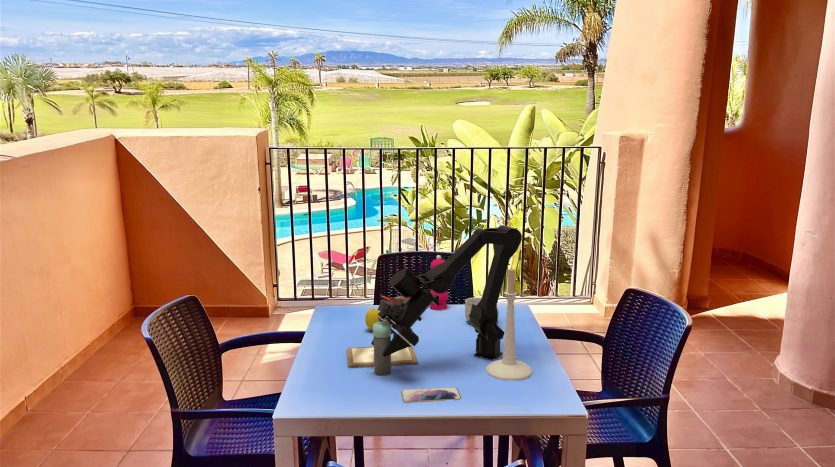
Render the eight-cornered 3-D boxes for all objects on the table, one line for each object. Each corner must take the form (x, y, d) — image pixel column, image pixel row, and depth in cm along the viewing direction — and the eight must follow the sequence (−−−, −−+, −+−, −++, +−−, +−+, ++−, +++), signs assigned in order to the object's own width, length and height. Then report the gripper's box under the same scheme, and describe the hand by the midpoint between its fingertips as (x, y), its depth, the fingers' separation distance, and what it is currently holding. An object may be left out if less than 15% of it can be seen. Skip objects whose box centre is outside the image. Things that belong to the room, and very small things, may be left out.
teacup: (459, 320, 231) (459, 298, 230) (486, 316, 236) (486, 294, 234) (479, 332, 219) (479, 309, 217) (507, 327, 223) (507, 305, 222)
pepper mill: (448, 305, 249) (449, 253, 245) (447, 311, 242) (448, 257, 238) (429, 304, 249) (429, 252, 246) (428, 310, 242) (428, 257, 239)
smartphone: (462, 398, 168) (403, 401, 166) (462, 401, 168) (403, 404, 166) (457, 386, 175) (400, 389, 173) (457, 389, 175) (400, 392, 173)
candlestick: (496, 383, 178) (498, 274, 173) (479, 365, 191) (481, 263, 185) (539, 377, 182) (543, 271, 176) (520, 361, 194) (523, 260, 188)
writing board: (411, 347, 205) (411, 344, 205) (417, 364, 191) (417, 361, 191) (346, 350, 202) (346, 347, 202) (348, 367, 189) (348, 364, 189)
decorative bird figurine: (419, 320, 231) (419, 292, 229) (377, 312, 240) (377, 285, 238) (423, 318, 233) (423, 291, 231) (382, 310, 242) (381, 284, 240)
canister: (395, 371, 186) (394, 323, 183) (383, 377, 182) (383, 328, 180) (381, 367, 189) (381, 320, 186) (370, 373, 185) (369, 325, 183)
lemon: (379, 334, 217) (379, 310, 216) (363, 333, 218) (362, 309, 217) (383, 328, 222) (383, 305, 221) (367, 327, 223) (367, 304, 222)
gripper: (384, 281, 191) (347, 323, 189) (407, 298, 174) (368, 344, 172) (409, 305, 196) (374, 345, 194) (435, 323, 179) (397, 368, 177)
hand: (377, 350), depth 184 cm, fingers open, 9 cm apart
